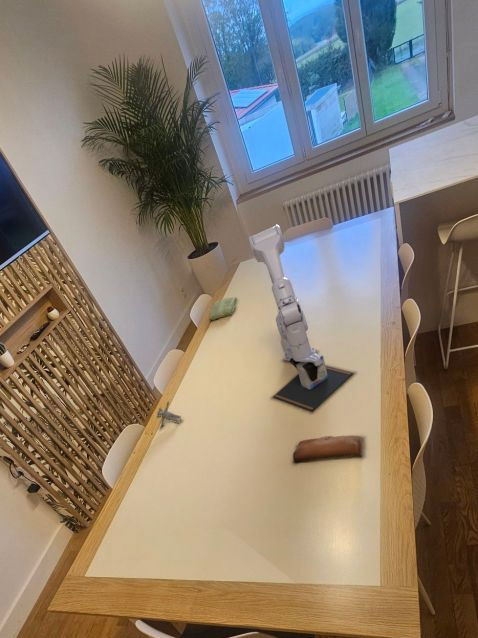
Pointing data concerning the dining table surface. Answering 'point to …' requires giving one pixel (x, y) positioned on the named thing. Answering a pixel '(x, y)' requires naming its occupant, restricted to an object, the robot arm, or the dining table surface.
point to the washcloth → (223, 308)
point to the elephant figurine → (167, 415)
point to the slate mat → (312, 390)
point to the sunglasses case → (328, 448)
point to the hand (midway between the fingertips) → (309, 377)
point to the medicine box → (305, 377)
